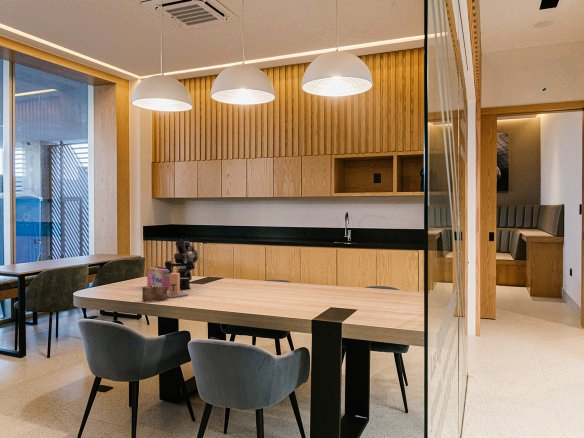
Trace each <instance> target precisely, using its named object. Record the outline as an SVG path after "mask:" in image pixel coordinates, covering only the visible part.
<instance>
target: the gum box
mask: <svg viewBox="0 0 584 438" xmlns="http://www.w3.org/2000/svg"><path fill="white" fill-rule="evenodd" d="M146 268H147V277H146V278H147V279H146V281H147V282H146V285H149V286H148V287H150V286H153V287H158V286H167V290H169V289H168V288H170V279H169V274H170V272H169V270H168V269H166V267H165V266H164V267H163V266H159V265H158V266H157V265H155V266H154V267H150V266H147V267H146ZM172 273H174V272H173V271H172Z"/></svg>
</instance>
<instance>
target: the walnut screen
mask: <svg viewBox="0 0 584 438" xmlns="http://www.w3.org/2000/svg"><path fill="white" fill-rule="evenodd" d="M141 289H142V290H141V291H142V294H141V295H142V302H145V303H147V302H146V301H148V302H152V300H155V301H160V302H161V301H162V302H163V301H164V300H165V301H168V298H167V293H168V289H167V286H158V287H150V286H143V287H141Z"/></svg>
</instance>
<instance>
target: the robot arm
mask: <svg viewBox="0 0 584 438" xmlns="http://www.w3.org/2000/svg"><path fill="white" fill-rule="evenodd" d="M175 247H176V251H177V253H174V256H173V259H174V262H172V261H171V260H168V261H165V262H164V268H166V269H168V270H169V272H170V274H171V273H172V271H173V269H174V267H179V268H178V270H177V272H176V273H180V290H181V291H182V290H183V291H184V290H190V289H191V288H192V287H190V285H191V284H190V283H191V282H190V281H191V280H192V273H191V271H192V270H195V269H196V268H195V267H196V266H195V265H196V264H195V263H197V262H198V260H199V255H198V251H197V250H196V249H195V246H194V245H191V242H190V241H188V240H185V241H184V240H183V239H181V238H180V239H179V240H177V241H176V242H175ZM188 252H193V253H188Z"/></svg>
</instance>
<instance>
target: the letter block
mask: <svg viewBox="0 0 584 438" xmlns="http://www.w3.org/2000/svg"><path fill="white" fill-rule="evenodd" d="M169 279H170V289H169V293H170V295H178V294H180V292H181V291H180V290H181V289H180V273H177V272H173V273H171V274H169Z"/></svg>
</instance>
